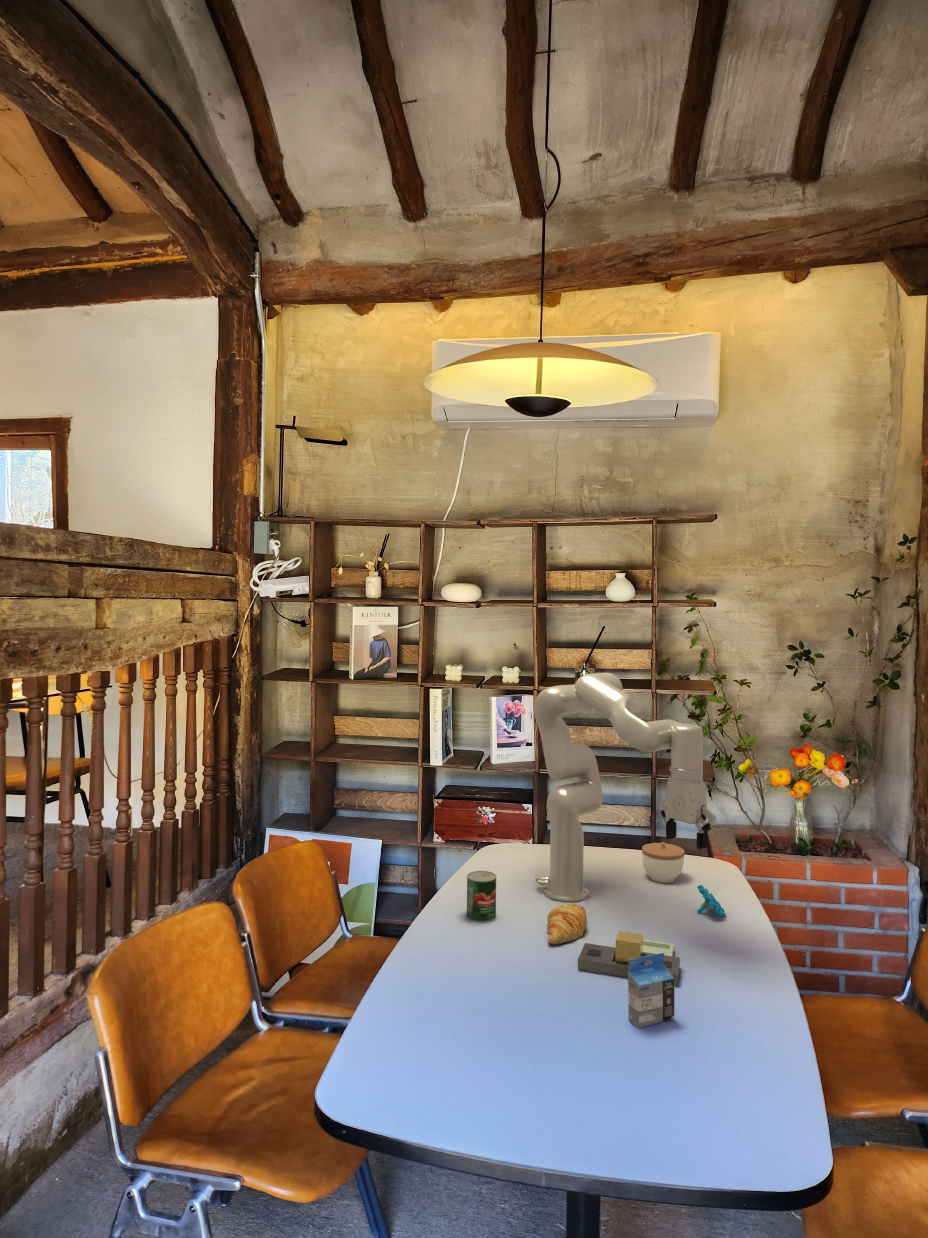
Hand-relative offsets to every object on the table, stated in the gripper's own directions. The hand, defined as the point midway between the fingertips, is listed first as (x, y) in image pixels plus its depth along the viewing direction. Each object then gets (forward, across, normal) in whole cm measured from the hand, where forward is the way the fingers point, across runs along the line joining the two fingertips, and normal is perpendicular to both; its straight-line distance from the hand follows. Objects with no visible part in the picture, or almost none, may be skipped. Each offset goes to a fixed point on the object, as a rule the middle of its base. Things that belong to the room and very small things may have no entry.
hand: (686, 843), depth 195 cm
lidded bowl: (+25, -34, +29) cm, 51 cm away
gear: (+25, -8, +20) cm, 33 cm away
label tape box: (+25, +21, -34) cm, 48 cm away
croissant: (+25, -21, -21) cm, 39 cm away
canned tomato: (+24, -40, -34) cm, 58 cm away
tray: (+25, 0, -13) cm, 28 cm away
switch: (+25, +3, -22) cm, 33 cm away
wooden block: (+25, +3, -22) cm, 33 cm away
